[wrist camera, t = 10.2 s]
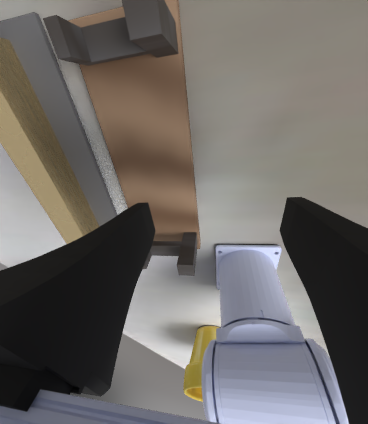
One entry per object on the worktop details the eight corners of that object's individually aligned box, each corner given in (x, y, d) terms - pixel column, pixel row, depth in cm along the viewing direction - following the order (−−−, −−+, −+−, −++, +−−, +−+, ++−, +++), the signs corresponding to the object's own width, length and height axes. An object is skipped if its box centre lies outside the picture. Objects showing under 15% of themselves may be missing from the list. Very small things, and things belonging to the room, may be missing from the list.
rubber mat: (130, 247, 26) (129, 249, 26) (77, 246, 28) (75, 248, 27) (38, 14, 13) (33, 12, 13) (-52, 38, 15) (-58, 37, 14)
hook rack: (200, 243, 24) (197, 282, 19) (144, 242, 25) (127, 279, 20) (178, 0, 12) (153, -69, 7) (73, 26, 13) (-11, -16, 8)
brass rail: (108, 244, 26) (97, 260, 23) (90, 244, 26) (77, 260, 24) (9, 39, 14) (-35, 28, 11) (-20, 47, 14) (-69, 37, 12)
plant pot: (248, 336, 36) (259, 405, 28) (212, 346, 41) (212, 407, 33) (214, 315, 33) (214, 385, 25) (179, 328, 39) (170, 390, 31)
